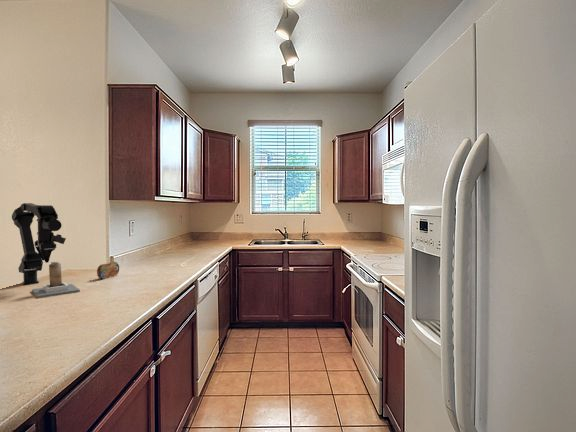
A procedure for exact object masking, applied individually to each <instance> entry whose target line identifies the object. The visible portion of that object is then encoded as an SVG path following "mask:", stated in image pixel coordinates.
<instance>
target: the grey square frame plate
mask: <svg viewBox="0 0 576 432" xmlns="http://www.w3.org/2000/svg"><path fill="white" fill-rule="evenodd" d="M31 291H32V293H33V294H34V295H35V297H36V298H37V299H40V298H47V297H54V296H55V297H56V296H61V295H66V294H74V293H79V292H81V290H80V288H78V287H77V286H75V285H74V284H72V283H68V284H67V283H66V282H65V281H64V282H62V286H58V287H50V283H49V284H44V285H42V287H40V288H39V287H38V288H32V289H31Z"/></svg>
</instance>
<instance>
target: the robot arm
mask: <svg viewBox="0 0 576 432" xmlns="http://www.w3.org/2000/svg"><path fill="white" fill-rule="evenodd" d="M35 216H36V217H37V219H36V221H37V233H36V235H37V240H36V241H34V239H33V238H34V237H33V234H32V228H31V226H32V223H34V218H35ZM11 219H12V221H13V225H14V226H16V227H17V228H18V229H19V234H20V239H21V240H20V241H21V244H22V245H21V246H22V249H23V256H22V258H21V259H20V261H21V262H20V264H19V266H18V269H17V270H18V272H19V273H22V274H23V275H22V276H23V281H21V284H22V285H32V284H39V283H40V281H39V280H38V272H41V271H42V270H43V266H44V265H43V264H44V262H45V263H49V262H50V259H51V255H52V252H53V251H55V250H56V249H57V243H59V244H62V245H65V242H66V239H67V238H66V237H63V236H62V234H59V233H58V234H56V235H54V232H58V231H60V230H61V229H62V226H63V225H62V223H61V221H60V220H59V215H58V213H57V211H56V209H55V207H54V206H53V205H45V204H43V205H42V204H41V205H38V204H35V203H33V202H24V203H22V204H20V206H18V207H17V208H15V209H14V210H13V212H12V214H11Z"/></svg>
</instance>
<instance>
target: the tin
mask: <svg viewBox="0 0 576 432" xmlns="http://www.w3.org/2000/svg"><path fill="white" fill-rule="evenodd" d="M119 272H120V265H119V263H118V262H117V261H110V262H107V263H103V264H99V266H98V267H97V269H96V275H97V277H98V278H99V279H101V280H103V279H104V280H106V279H110V278H113V277H116V276H117V275H118V274H119Z"/></svg>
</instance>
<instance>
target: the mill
mask: <svg viewBox="0 0 576 432" xmlns="http://www.w3.org/2000/svg"><path fill="white" fill-rule="evenodd" d="M48 270H49V271H48V272H49V276H48V277H49V284H50V287H58V286H62V283H63V281H62V280H63V279H62V264H61V262H59V261H51V262H50V264H48Z"/></svg>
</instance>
